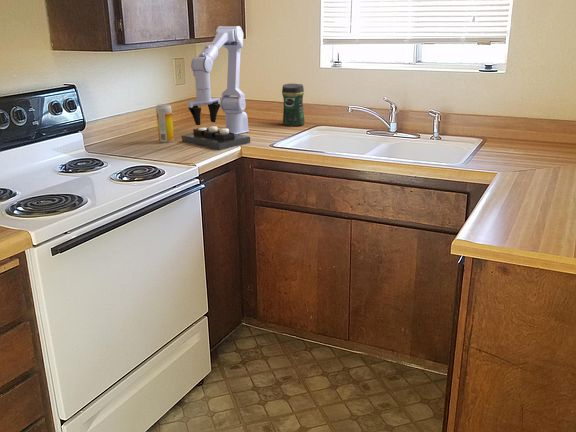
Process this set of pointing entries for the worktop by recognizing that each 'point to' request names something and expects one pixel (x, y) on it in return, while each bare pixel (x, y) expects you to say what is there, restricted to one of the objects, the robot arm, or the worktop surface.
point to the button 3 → (224, 131)
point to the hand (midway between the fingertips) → (205, 123)
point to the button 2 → (213, 129)
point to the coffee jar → (293, 104)
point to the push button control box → (215, 139)
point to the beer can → (165, 123)
